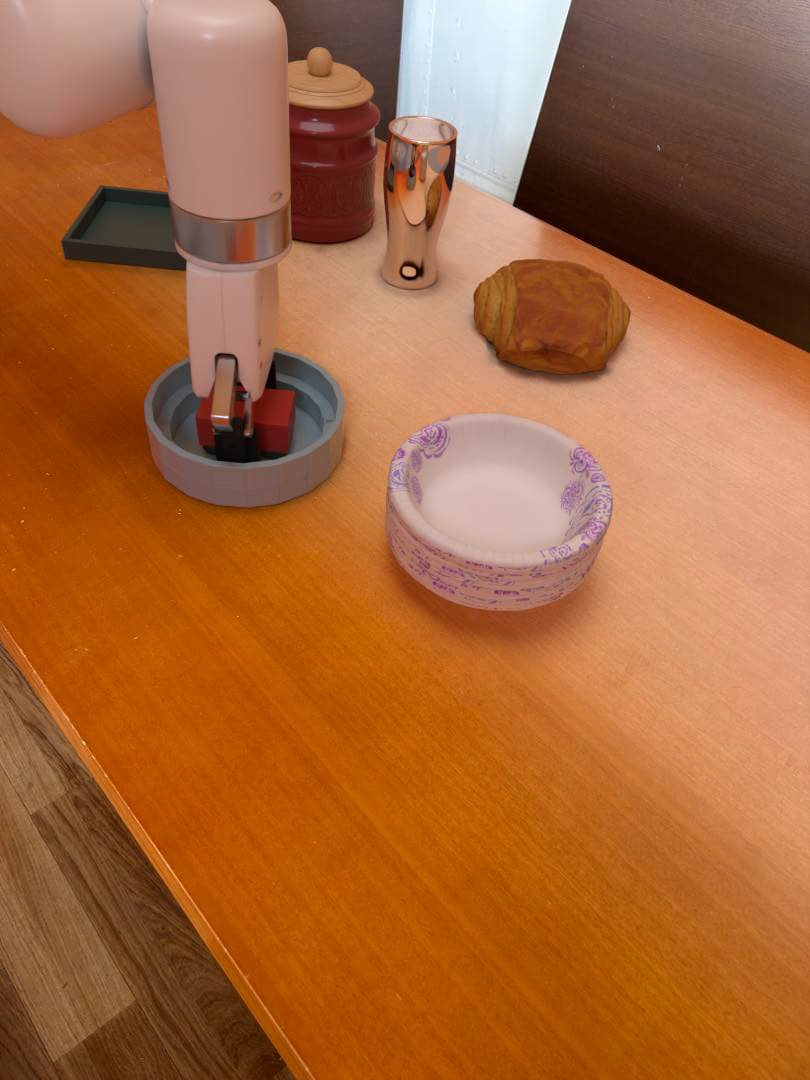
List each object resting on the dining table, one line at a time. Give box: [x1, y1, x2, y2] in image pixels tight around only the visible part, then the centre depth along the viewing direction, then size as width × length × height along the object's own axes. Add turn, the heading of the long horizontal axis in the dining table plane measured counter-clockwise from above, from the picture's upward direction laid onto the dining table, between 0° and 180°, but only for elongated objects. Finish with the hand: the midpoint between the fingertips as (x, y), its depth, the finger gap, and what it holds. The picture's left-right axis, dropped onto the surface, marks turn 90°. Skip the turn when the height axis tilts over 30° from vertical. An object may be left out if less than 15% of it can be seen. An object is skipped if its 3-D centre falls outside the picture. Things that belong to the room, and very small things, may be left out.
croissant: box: [472, 258, 632, 375], centre depth 77 cm, size 14×16×8 cm
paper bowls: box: [384, 412, 614, 612], centre depth 56 cm, size 15×15×8 cm
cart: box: [195, 384, 296, 460], centre depth 63 cm, size 7×4×4 cm, turn 88°
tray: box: [60, 184, 187, 271], centre depth 86 cm, size 15×13×2 cm
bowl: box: [143, 347, 346, 509], centre depth 63 cm, size 15×15×4 cm
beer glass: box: [380, 115, 459, 290], centre depth 80 cm, size 7×7×15 cm
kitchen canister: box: [288, 46, 381, 243], centre depth 86 cm, size 13×13×18 cm
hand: (248, 432), depth 64 cm, fingers open, 7 cm apart
